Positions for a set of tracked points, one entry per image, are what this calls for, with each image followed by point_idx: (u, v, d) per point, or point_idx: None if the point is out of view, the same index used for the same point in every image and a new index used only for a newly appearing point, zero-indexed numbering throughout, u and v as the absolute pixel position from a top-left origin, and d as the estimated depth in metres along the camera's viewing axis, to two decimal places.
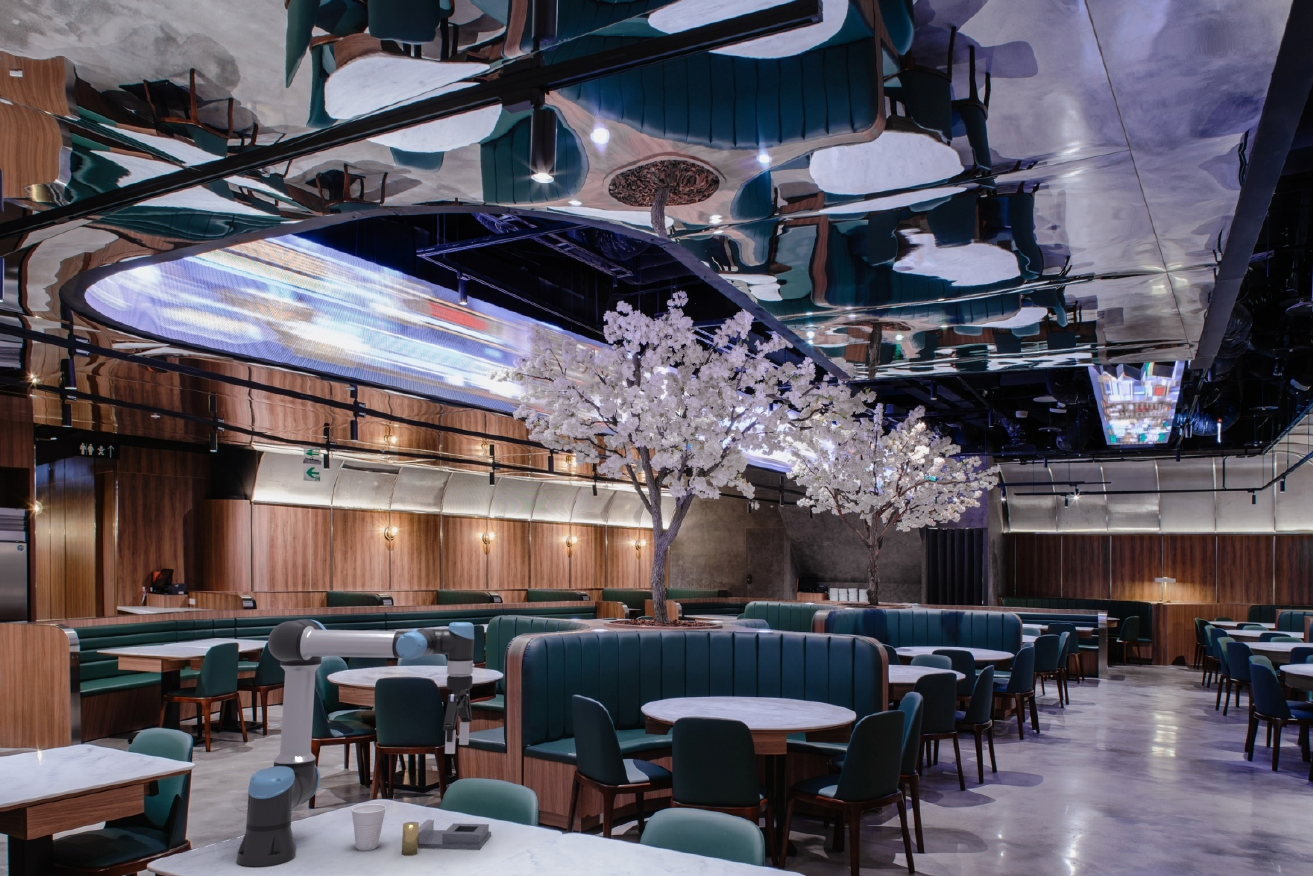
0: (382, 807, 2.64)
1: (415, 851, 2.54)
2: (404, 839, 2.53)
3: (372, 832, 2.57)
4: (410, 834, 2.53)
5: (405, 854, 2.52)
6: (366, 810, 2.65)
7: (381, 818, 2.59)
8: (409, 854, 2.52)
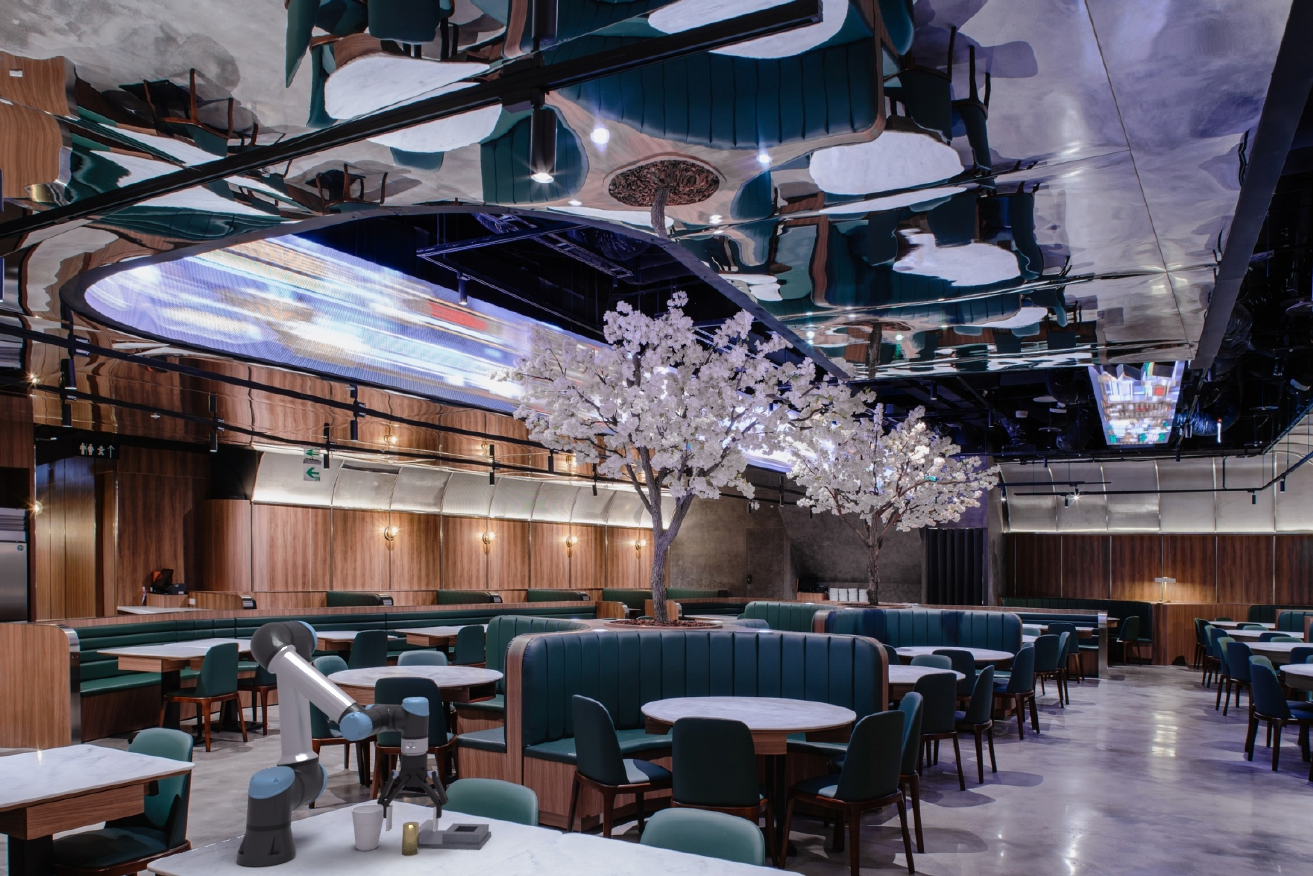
0: (382, 807, 2.64)
1: (415, 851, 2.54)
2: (404, 839, 2.53)
3: (372, 832, 2.57)
4: (410, 834, 2.53)
5: (405, 854, 2.52)
6: (366, 810, 2.65)
7: (381, 818, 2.59)
8: (409, 854, 2.52)
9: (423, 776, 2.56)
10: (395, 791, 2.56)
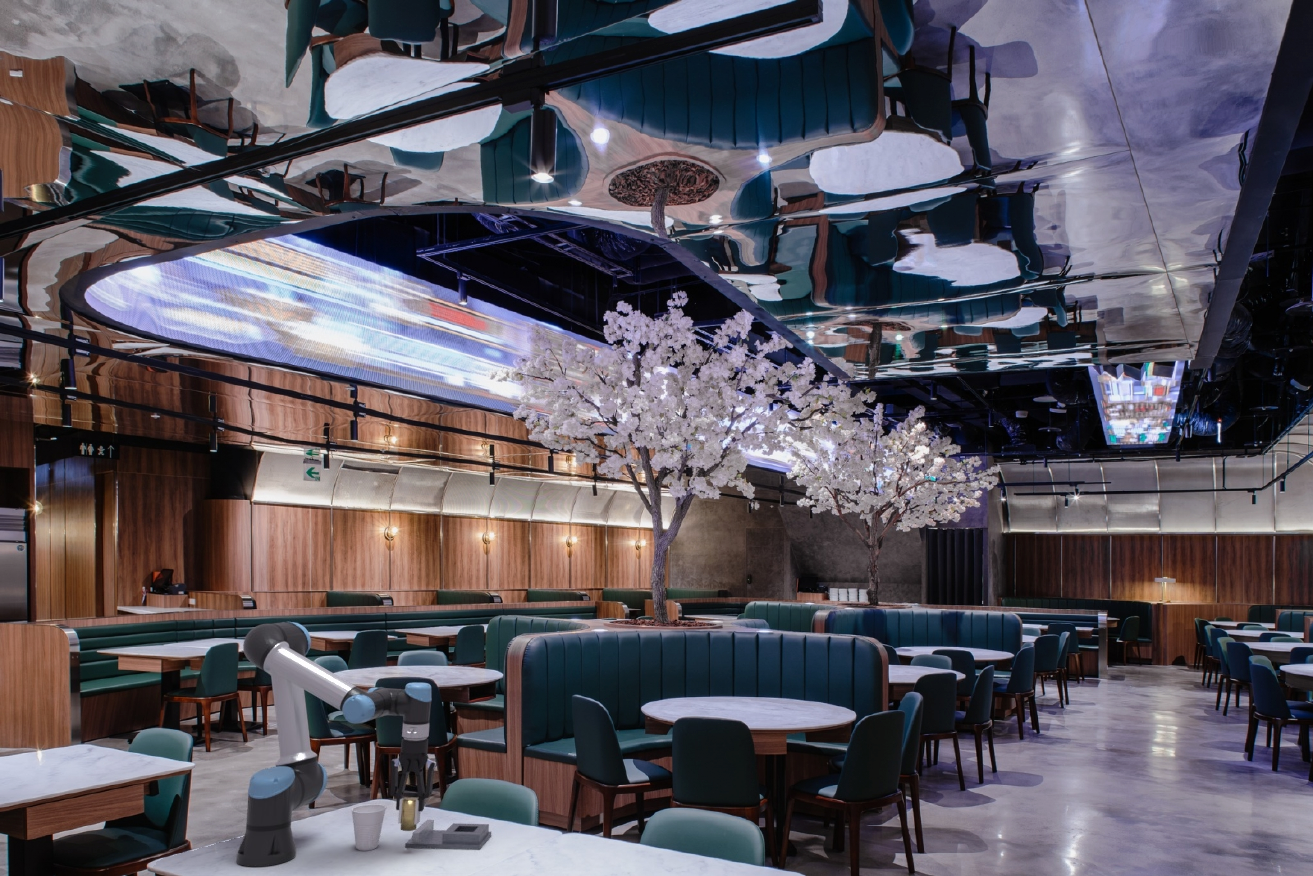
0: (382, 807, 2.64)
1: (414, 827, 2.55)
2: (403, 814, 2.54)
3: (372, 832, 2.57)
4: (409, 809, 2.54)
5: (404, 829, 2.54)
6: (366, 810, 2.65)
7: (381, 818, 2.59)
8: (408, 829, 2.54)
9: (422, 761, 2.57)
10: (402, 780, 2.57)
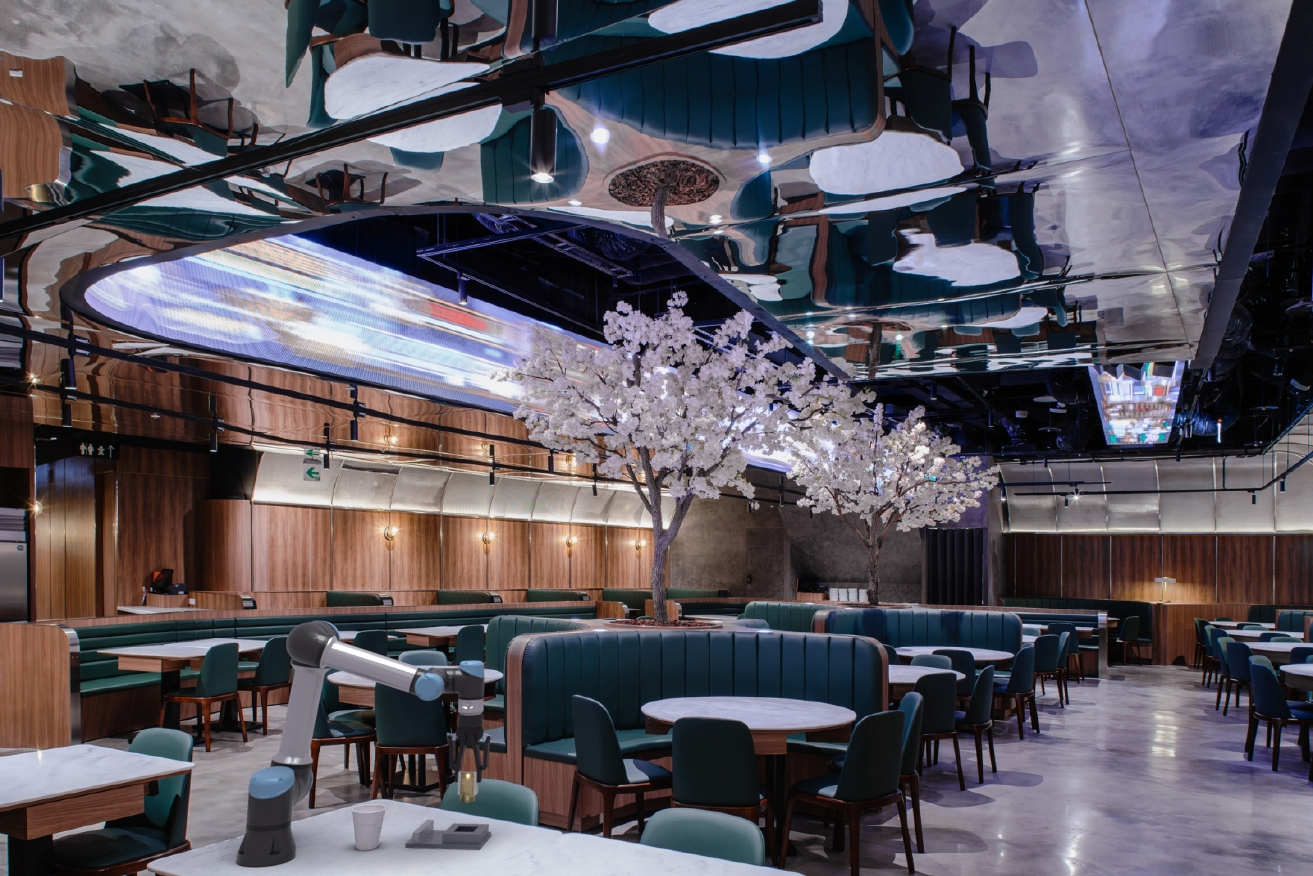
0: (382, 807, 2.64)
1: (473, 798, 2.66)
2: (462, 787, 2.66)
3: (372, 832, 2.57)
4: (468, 782, 2.66)
5: (464, 801, 2.65)
6: (366, 810, 2.65)
7: (381, 818, 2.59)
8: (467, 801, 2.65)
9: (478, 735, 2.69)
10: (460, 753, 2.68)
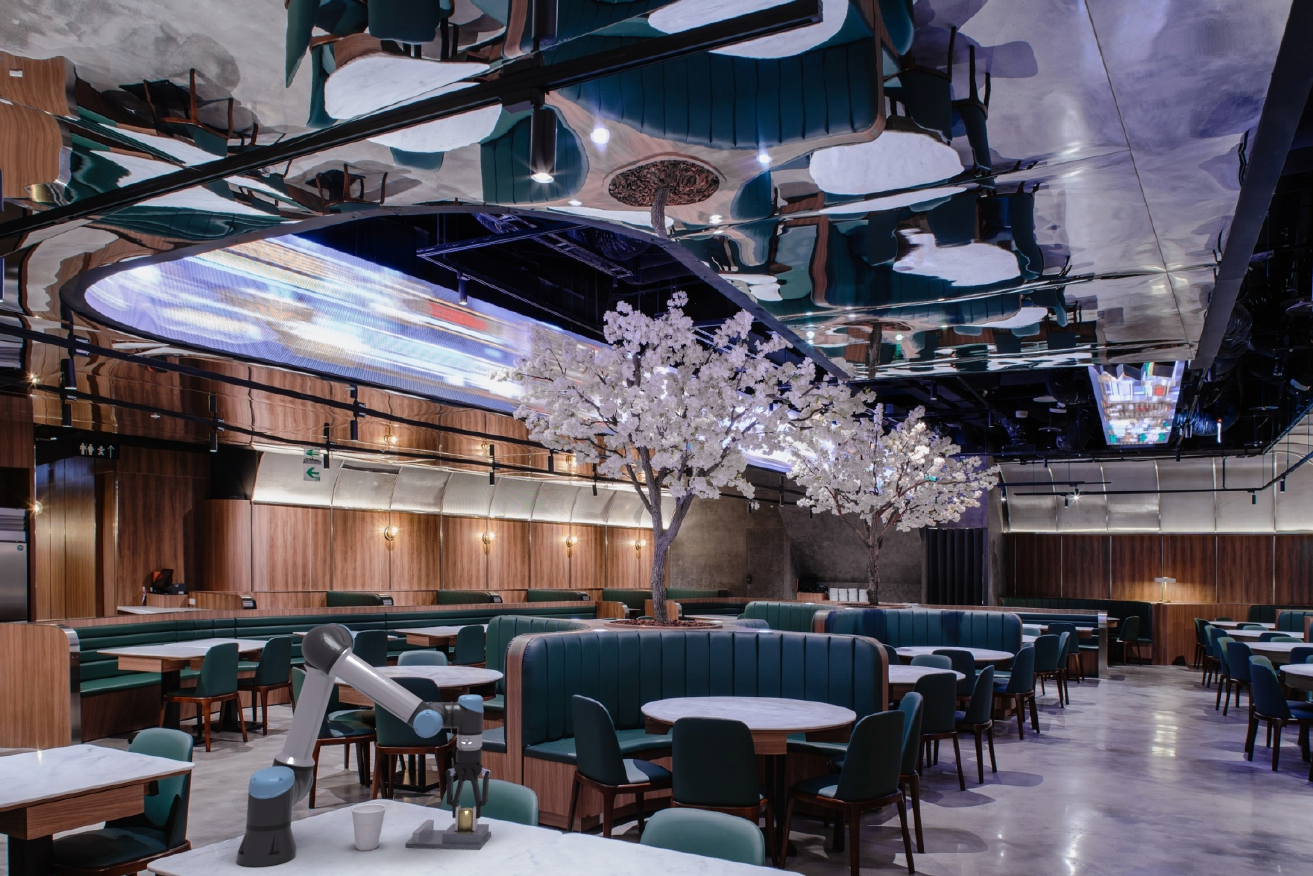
0: (382, 807, 2.64)
1: None
2: (461, 824, 2.65)
3: (372, 832, 2.57)
4: (466, 819, 2.64)
5: None
6: (366, 810, 2.65)
7: (381, 818, 2.59)
8: None
9: (477, 771, 2.67)
10: (458, 789, 2.67)
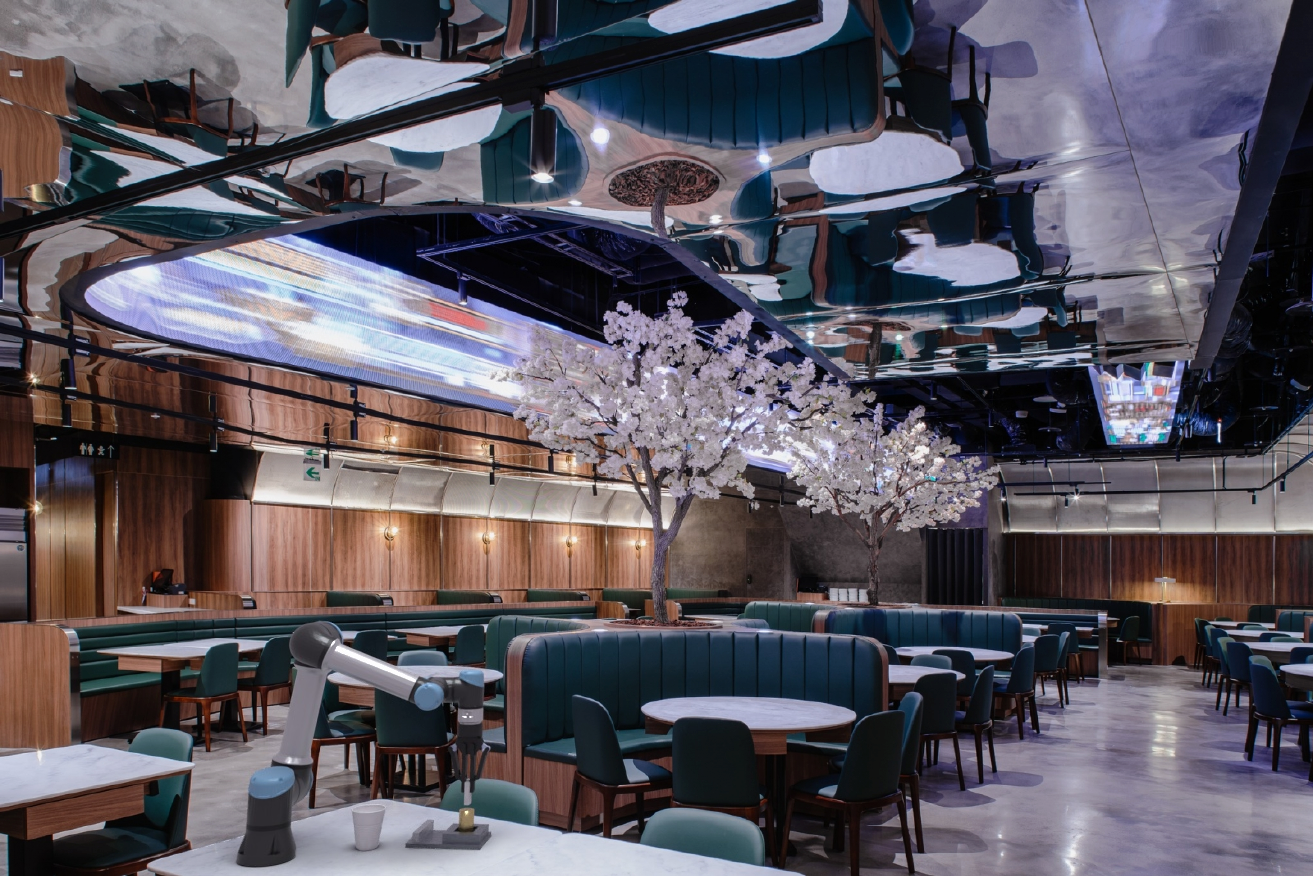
0: (382, 807, 2.64)
1: None
2: (461, 824, 2.65)
3: (372, 832, 2.57)
4: (466, 819, 2.64)
5: None
6: (366, 810, 2.65)
7: (381, 818, 2.59)
8: None
9: (477, 744, 2.69)
10: (463, 763, 2.68)
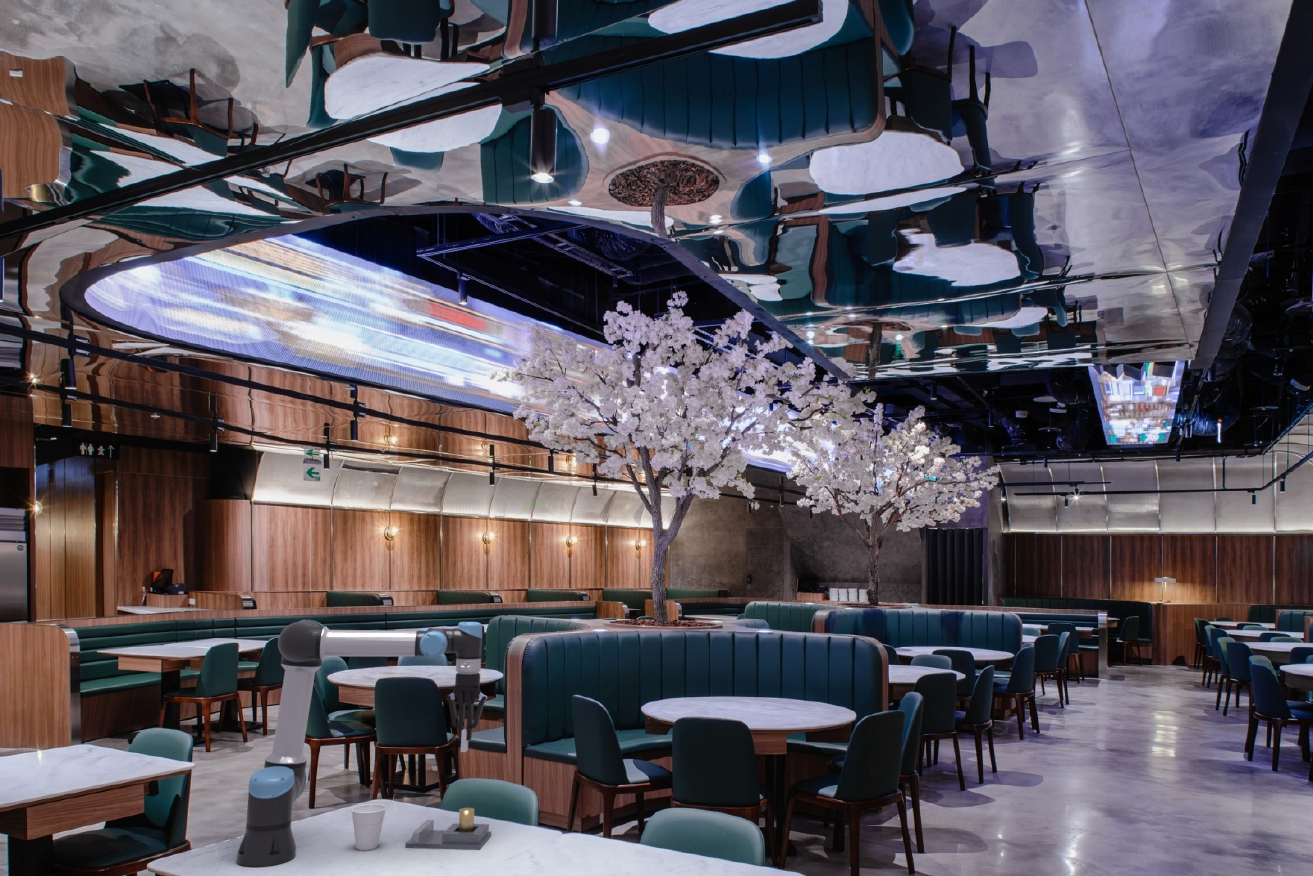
0: (382, 807, 2.64)
1: None
2: (461, 824, 2.65)
3: (372, 832, 2.57)
4: (466, 819, 2.64)
5: None
6: (366, 810, 2.65)
7: (381, 818, 2.59)
8: None
9: (475, 694, 2.76)
10: (460, 711, 2.75)
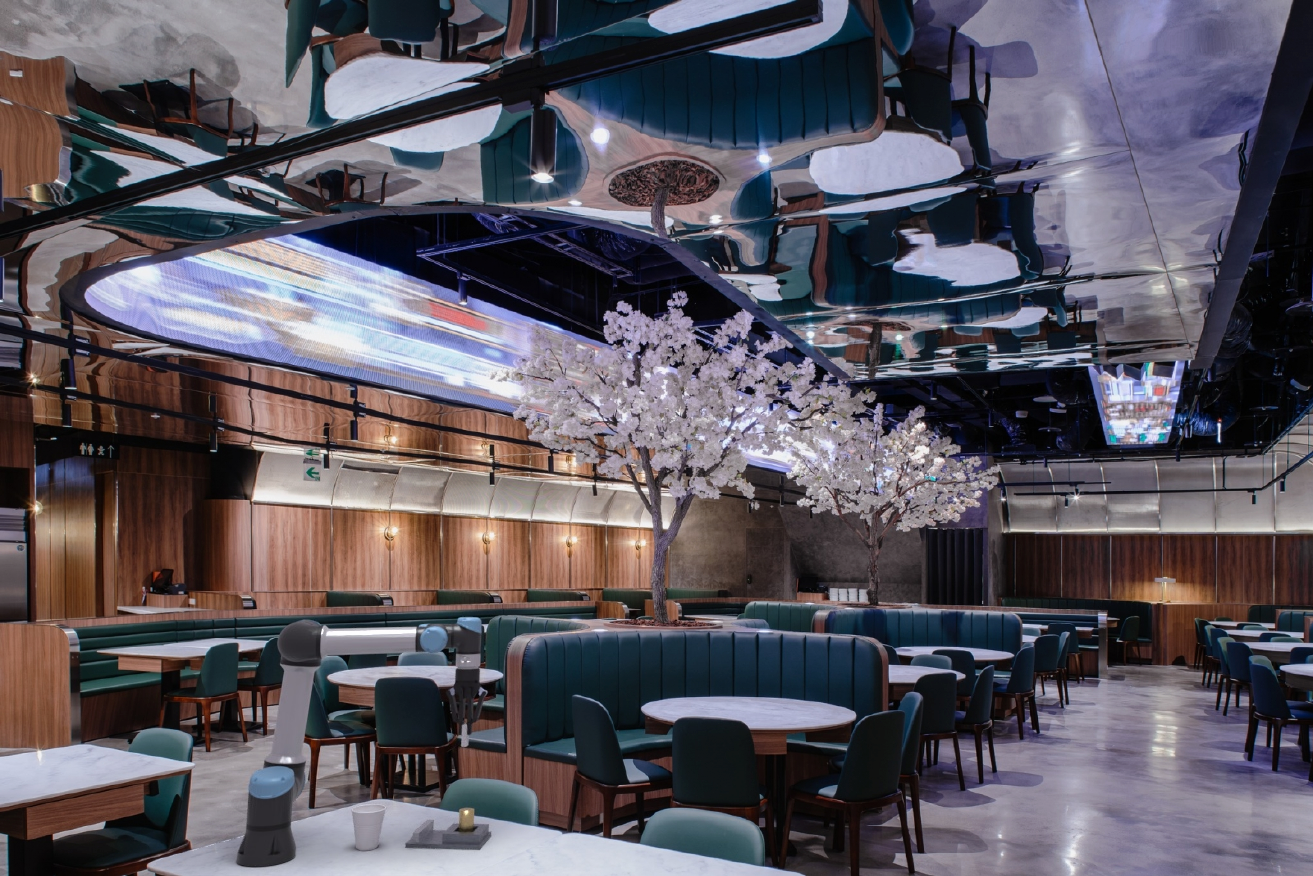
0: (382, 807, 2.64)
1: None
2: (461, 824, 2.65)
3: (372, 832, 2.57)
4: (466, 819, 2.64)
5: None
6: (366, 810, 2.65)
7: (381, 818, 2.59)
8: None
9: (475, 688, 2.77)
10: (460, 706, 2.76)
